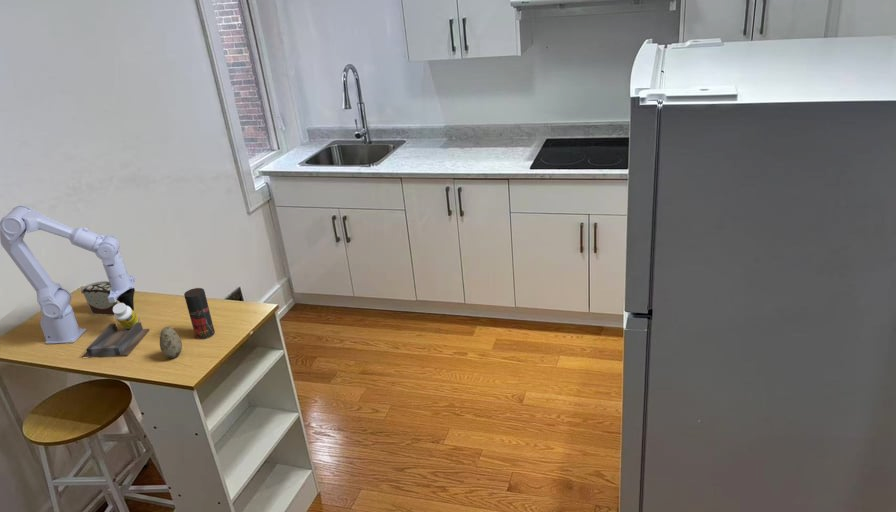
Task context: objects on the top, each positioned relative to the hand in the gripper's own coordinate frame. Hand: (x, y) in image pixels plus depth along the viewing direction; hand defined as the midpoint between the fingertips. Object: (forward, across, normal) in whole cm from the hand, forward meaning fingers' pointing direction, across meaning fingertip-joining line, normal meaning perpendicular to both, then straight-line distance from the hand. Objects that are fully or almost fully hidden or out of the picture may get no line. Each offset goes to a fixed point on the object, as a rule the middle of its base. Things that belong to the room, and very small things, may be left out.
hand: (130, 310), depth 214 cm
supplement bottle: (+5, -1, +1) cm, 5 cm away
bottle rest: (+5, -11, +1) cm, 12 cm away
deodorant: (+6, -8, -26) cm, 28 cm away
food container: (+6, +12, +15) cm, 20 cm away
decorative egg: (+6, -20, -21) cm, 29 cm away
